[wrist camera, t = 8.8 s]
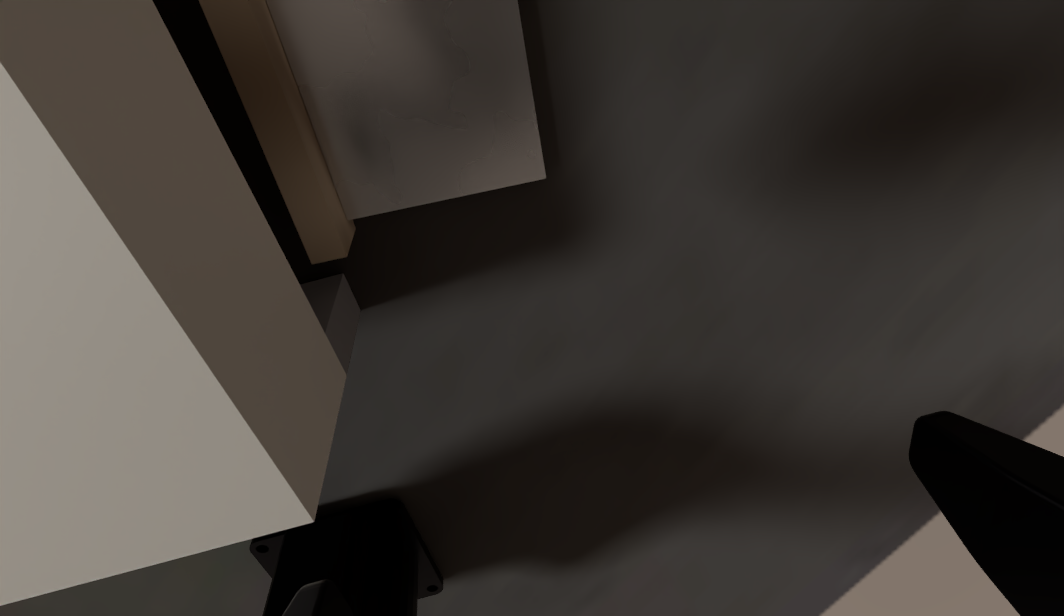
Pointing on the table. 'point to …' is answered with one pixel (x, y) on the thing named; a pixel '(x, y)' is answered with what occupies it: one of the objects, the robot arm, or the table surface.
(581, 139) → the table surface
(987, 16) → the table surface
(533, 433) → the table surface
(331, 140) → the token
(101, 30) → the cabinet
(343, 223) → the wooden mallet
